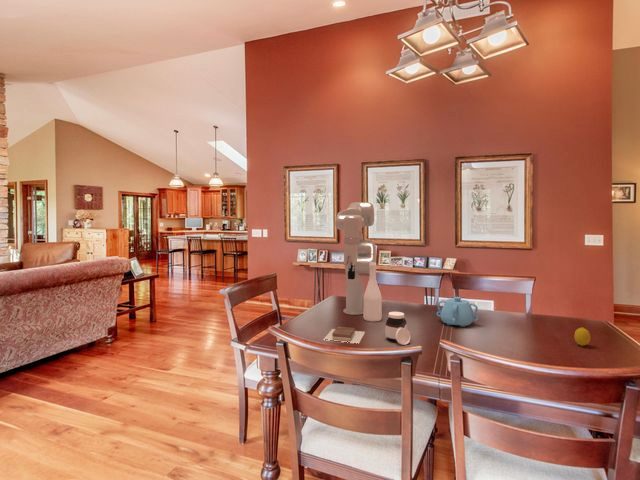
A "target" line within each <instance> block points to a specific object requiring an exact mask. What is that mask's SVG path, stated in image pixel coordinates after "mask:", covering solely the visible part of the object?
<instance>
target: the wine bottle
mask: <svg viewBox="0 0 640 480" xmlns="http://www.w3.org/2000/svg"><path fill="white" fill-rule="evenodd" d="M369 267H370V274H369V278H368V282H367V285H366V288H365V291H364V293H363V314H362V315H363V319H364V320H365V321H367V322H372V323H375V322H380V321H381V320H382V318H383V317H382V316H383V315H382V314H383V313H382V312H383V297H382V293H381V289H380V287H379V283H378V281H377V262H376V263H373V262H372V263H370V264H369Z"/></svg>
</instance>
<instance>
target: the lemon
mask: <svg viewBox="0 0 640 480" xmlns="http://www.w3.org/2000/svg"><path fill="white" fill-rule="evenodd" d="M590 333H591V332H590V331H589V330H588V329H587V328H585V327H583V326H582V327H579V328H577V329H575V331H574V335H573V336H574V337H573V338H574V342H576V343H577V344H578V345H580V347H584V346H586V345H588V344H589V343H590V341H591V334H590Z"/></svg>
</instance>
